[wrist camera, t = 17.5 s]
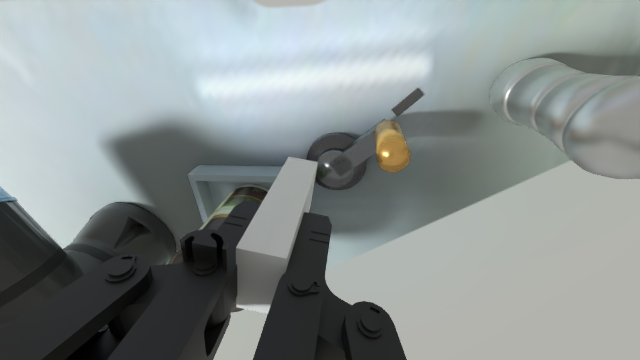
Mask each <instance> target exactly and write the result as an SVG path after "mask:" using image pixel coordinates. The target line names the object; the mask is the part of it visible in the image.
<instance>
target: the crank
mask: <svg viewBox="0 0 640 360" xmlns="http://www.w3.org/2000/svg"><path fill="white" fill-rule="evenodd" d="M375 153H376V155H377V162H378V164H379V166H380V167H381V168H382V169H383V170H385V171H388V172H398V171H400V170H402V169H404V168H405V167H406V166H407V165H408V163H409V161H410V151H409V149H408V146H407V143H406V141H405V138H404V136H403V133H402V130H401V128H400V126H399V125H398V123H396V122H395V121H391V120H385V119H383V120H382V121H381V122H379V123H378V124H377V125H375V126H374V127H372V128H371V129H370V130H368V131H367V132H366V133H364V134H363V135H362V136H360V137H359V138H357V139H356V140H355V141H353V142H352V143H351V144H349V145H348V146H347V147H345V148H344V149H341V148H329V149H327V150H325V151H323V152H322V153H321V154H320V156H319V158H318V160H317V162H318V164H317V171H316V175H317V177H318V179H319V180H320V181H321V182H322V183H324V184H325V185H327V186H330V187H341V186H344V185H346V184H347V183H349V182H350V181H351V179H352V178H353V175H354V167H356V166H357V165H359V164H360V163H362V162H363V161H365V160H366V159H368V158H369V157H371V156H372V155H373V154H375Z"/></svg>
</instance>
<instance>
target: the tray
mask: <svg viewBox="0 0 640 360" xmlns="http://www.w3.org/2000/svg"><path fill="white" fill-rule="evenodd" d="M282 167H283V166H234V165H198V166H197V167H196V168H194V169H193V170H192V171H191V172H189V173H188V174H187V176H188V179H189V182H190V185H191V188H192V191H193V194H194V197H195V200H196V203H197V206H198V209H199V212H200V215H201V218H202V221H203V224H204V223H205V222H206V220H207V219H208V218H209V217H210V216H211V215H212V213H213V212H214V211H215V210H216V209H217V208H218V207H219V205H220V204H221V203H222V202H223V201H224V200H225V198H226V197H227V196H228V194H229V193H230V192H231V191H232V190H233V189H234V188H236V187H238V186H240V185H245V184H255V185H260V186H263V187H265V188H268V189H269V190H270V188H271V186H272V184H273V183H274V181H275V179H276V178H277V176H278V174H279V172H280V171H281V169H282Z"/></svg>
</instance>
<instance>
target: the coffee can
mask: <svg viewBox="0 0 640 360" xmlns="http://www.w3.org/2000/svg"><path fill="white" fill-rule="evenodd" d="M268 191H269V189H268V188H265V187H263V186H260V185H255V184H245V185H240V186H238V187H236V188H234V189H233V190H232V191H231V192H230V193H229V194H228V196H227V197H226V198H225V200H224V201H223V202H222V203H221V204H220V205H219V207H218V208H217V209H216V210H215V211H214V212H213V213H212V215H211V216H210V217H209V218H208V219H207V220H206V222H205V223H204V224H203V225H202V226H201V227H200V229H199V230H202V229H214V230H218V229H219V227H220V226H221V224H222V223H223V222H224V220H225V219H226V218H227V216H228V215H229V213H230V212H231V211H232V209H233V208H234V207H235V206H236V205H238V204H240V203H241V202H243V201H249V202H254V203H259V204H261V203H262V202H263V200H264V198H265V197H266V195H267V193H268ZM182 262H183V256H182V249H181V250H180V251H179V252H178V253H177V254H176V255H175V256H174V257H173V258H172V260H171V262H170V264H177V263H182ZM241 310H244V309H243V308H238V307H236V300H235V302H234V304H233V306H232V308H231V310H230V312H237V311H241Z"/></svg>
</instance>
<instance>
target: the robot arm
mask: <svg viewBox="0 0 640 360" xmlns="http://www.w3.org/2000/svg"><path fill="white" fill-rule="evenodd" d="M317 164H318V162H315V161H310V160H304V159H299V158H294V157H288V159H287V160H286V162H285V164H284V165H283V167H282V169H281V171H280V172H279V174H278V176H277V178H276V179H275V181H274V183H273V184H272V186H271V188H270V190H269V191H268V193H267V195H266V197H265V198H264V200H263V202H262V203H261V204H259V203H254V202H249V201H243V202H241V203H240V204H238V205H236V206H235V207H234V208H233V209H232V211H231V212H230V213H229V215H228V216H227V218H226V219H225V220H224V222H223V223H222V224H221V226H220V227H219V229H218V230H214V229H202V230H196V231H194V232H192V233H189V234H187V235H186V236H185V237H183V238H182V239H181V240H180V242H181V249H182V256H183V262H182V263H177V264H168V263H169V262H170V261H171V259H172V258H173V257H174V255H175V251H176V245H175V241H174V238H173V236H172V234H171V233H170V231H169V230H168V228H167V227H166V226H165V225H164V224H163V223H162V222H161V221H160V220H159V219H158V218H157V217H156V216H154V215H153V214H151V213H150V212H148V211H146V210H145V209H143V208H140V207H138V206H135V205H132V204H128V203H112V204H108V205H106V206H105V207H103V208H102V209H100V210H99V211H97V212H96V213H95V214H94V215H92V217H91V218H90V220H89V221H88V223H87V224H86V225H85V226H84V227H83V229H82V230H81V231H80V232H79V234H78V235H77V236H76V238H75V239H74V240H73V242H72V243H71V244H70V245H68V246H67V247H65V248H64V249H62V248H61V247H60V246H59V245H58V244H57V243H56V242H55V241H54V240H53V239H52V238H51V237H50V236H49V235H48V234H47V233H46V231H45V230H44V229H43V228H42V227H41V226H40V225H39V224H38V223H37V222H36V221H35V220H34V219H33V218H32V217H31V216H30V215H29V214H28V213H27V212H26V211H25V210H24V209H23V208H22V207H21V206H20V205H19V204H18V202H17V199H16V198H15V197H11V196H10V195H9V194H8V193H7V192H6V191H5V190H3V189H2V188H1V187H0V360H213V358H214V356H215V354H216V351H217V349H218V347H219V345H220V342H221V340H222V338H223V336H224V334H225V331H226V329H227V327H228V325H229V321H230V317H231V315H230V310H231V308H232V306H233V304H234V302H235V300H236V307H238V308H243V309H247V310H252V311H257V312H261V313H266V314H268V315H267V318H266V321H265V324H264V327H263V331H262V334H261V337H260V340H259V343H258V346H257V349H256V352H255V355H254V358H253V360H407V359H406V357H405V354H404V351H403V348H402V345H401V343H400V340H399V337H398V334H397V332H396V328H395V326H394V323H393V321H392V320H391V318H390V316H389V314H388V313H387V312H386V311H385V310H383V309H382V308H381V307H380V306H378V305H375V304H374V303H371V302H365V301H363V302H357V303H355V304H354V305H350V304H348V303H347V302H345V301H343V300H341V299H339V298H338V297H337V296H335V295H334V294H333V293H332V292H331V291H330V290H329V288H328V286H327V284H326V281H325V270H326V263H327V255H328V248H329V241H330V234H331V227H332V225H331V223H330V220H329V218H328V217H327V216H322V215H317V214H312V213H309V210H310V207H311V201H312V195H313V189H314V183H315V177H316V171H317Z"/></svg>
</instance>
